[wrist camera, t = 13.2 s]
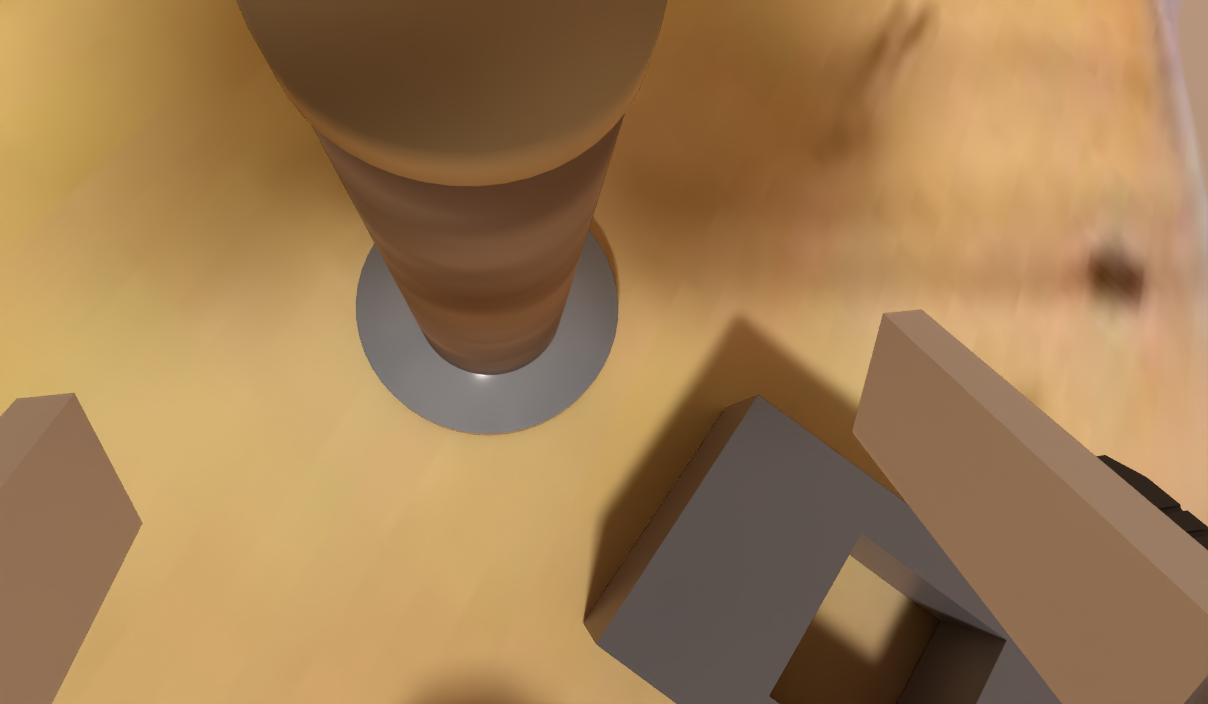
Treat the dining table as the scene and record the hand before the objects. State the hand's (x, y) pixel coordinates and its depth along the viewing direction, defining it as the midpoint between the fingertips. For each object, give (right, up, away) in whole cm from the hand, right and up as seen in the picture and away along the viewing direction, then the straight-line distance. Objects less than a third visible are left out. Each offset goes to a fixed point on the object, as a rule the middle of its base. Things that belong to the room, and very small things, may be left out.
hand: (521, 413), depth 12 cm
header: (+9, -8, +9) cm, 15 cm away
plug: (-2, +3, +9) cm, 10 cm away
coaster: (-2, +2, +10) cm, 11 cm away
